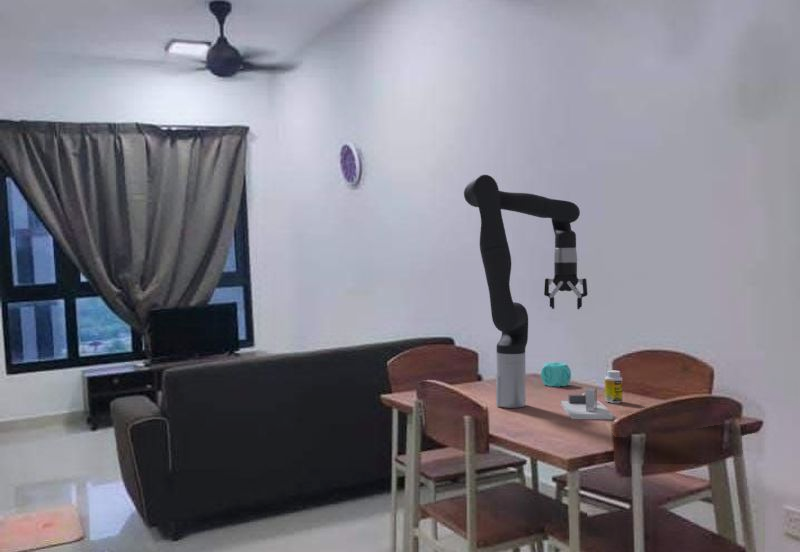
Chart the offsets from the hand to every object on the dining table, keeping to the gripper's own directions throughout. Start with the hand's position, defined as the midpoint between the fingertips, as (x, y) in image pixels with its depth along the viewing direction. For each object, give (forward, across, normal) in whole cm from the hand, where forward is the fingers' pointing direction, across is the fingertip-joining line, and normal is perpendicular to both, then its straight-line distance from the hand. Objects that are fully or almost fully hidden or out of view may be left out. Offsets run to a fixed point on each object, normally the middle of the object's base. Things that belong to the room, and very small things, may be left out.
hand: (565, 308), depth 254 cm
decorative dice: (+30, -6, +22) cm, 38 cm away
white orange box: (+29, +10, -26) cm, 40 cm away
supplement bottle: (+30, +16, -5) cm, 35 cm away
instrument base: (+30, +8, -24) cm, 39 cm away
